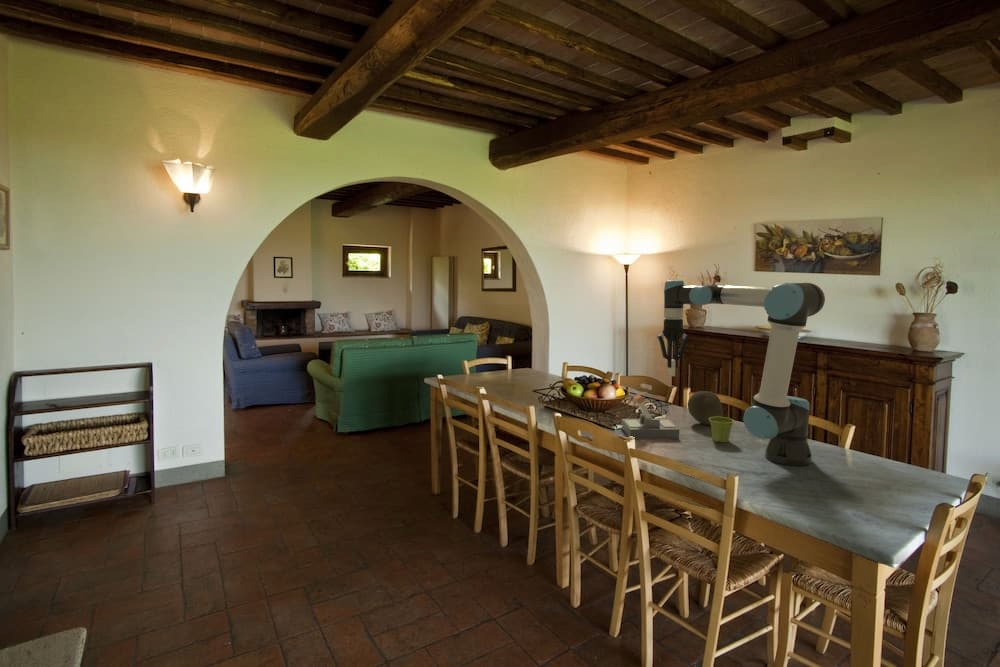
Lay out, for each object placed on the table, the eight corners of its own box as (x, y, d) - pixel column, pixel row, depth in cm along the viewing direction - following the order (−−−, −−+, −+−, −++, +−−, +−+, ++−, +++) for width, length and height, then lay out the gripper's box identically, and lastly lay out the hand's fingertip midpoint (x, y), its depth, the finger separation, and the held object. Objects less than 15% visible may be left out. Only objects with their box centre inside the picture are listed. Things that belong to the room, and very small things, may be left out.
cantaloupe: (712, 419, 257) (714, 387, 255) (727, 428, 243) (728, 394, 241) (682, 420, 256) (683, 388, 254) (695, 429, 242) (696, 395, 240)
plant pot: (717, 444, 221) (718, 423, 220) (703, 437, 230) (704, 417, 229) (737, 443, 223) (739, 421, 222) (723, 436, 232) (724, 415, 231)
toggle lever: (655, 423, 233) (641, 396, 232) (649, 426, 234) (636, 399, 232) (652, 419, 239) (638, 393, 237) (646, 422, 239) (633, 396, 237)
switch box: (679, 438, 229) (679, 422, 228) (630, 439, 229) (630, 422, 228) (667, 427, 245) (667, 412, 244) (621, 427, 244) (621, 412, 244)
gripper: (686, 317, 233) (684, 373, 235) (654, 317, 232) (653, 374, 235) (692, 318, 225) (691, 377, 228) (660, 319, 225) (659, 377, 227)
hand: (672, 375), depth 231 cm, fingers closed
